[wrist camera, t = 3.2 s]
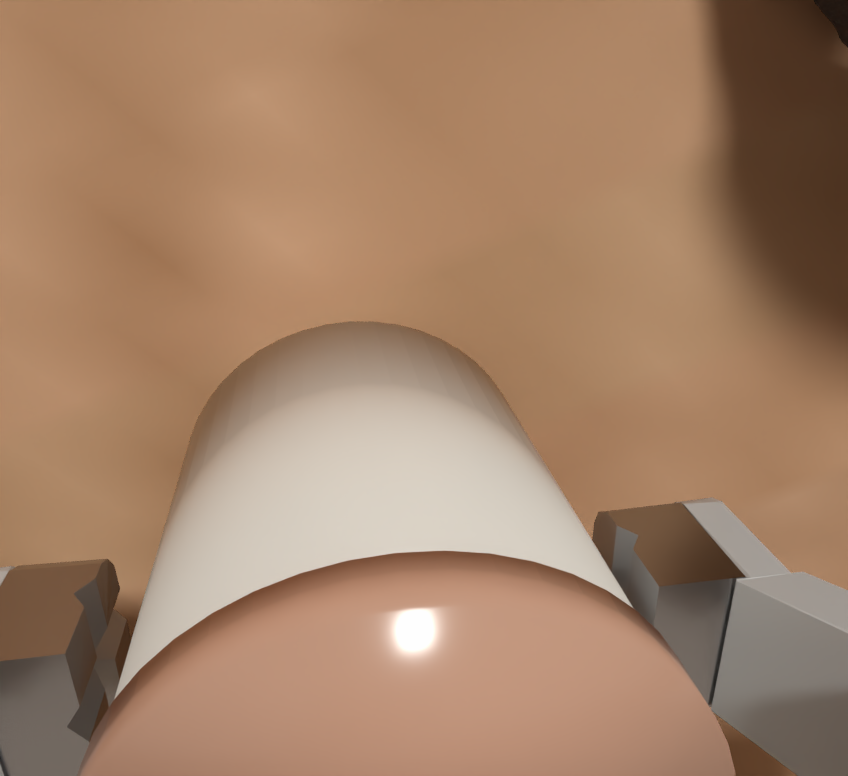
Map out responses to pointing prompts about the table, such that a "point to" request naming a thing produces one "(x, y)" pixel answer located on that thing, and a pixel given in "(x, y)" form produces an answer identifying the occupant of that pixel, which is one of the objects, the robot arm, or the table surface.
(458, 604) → the pink capped tube
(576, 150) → the table surface
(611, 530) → the robot arm
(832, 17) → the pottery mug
